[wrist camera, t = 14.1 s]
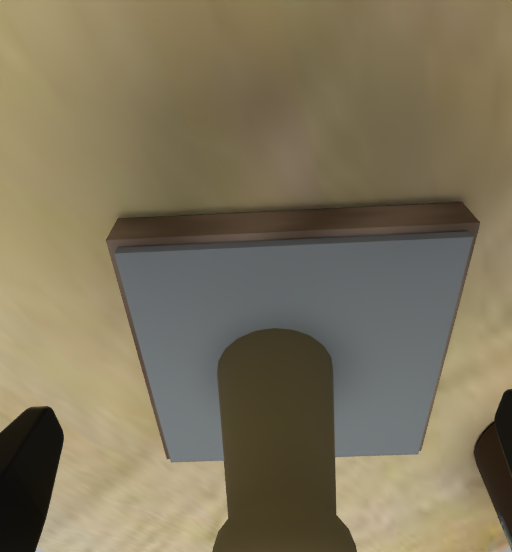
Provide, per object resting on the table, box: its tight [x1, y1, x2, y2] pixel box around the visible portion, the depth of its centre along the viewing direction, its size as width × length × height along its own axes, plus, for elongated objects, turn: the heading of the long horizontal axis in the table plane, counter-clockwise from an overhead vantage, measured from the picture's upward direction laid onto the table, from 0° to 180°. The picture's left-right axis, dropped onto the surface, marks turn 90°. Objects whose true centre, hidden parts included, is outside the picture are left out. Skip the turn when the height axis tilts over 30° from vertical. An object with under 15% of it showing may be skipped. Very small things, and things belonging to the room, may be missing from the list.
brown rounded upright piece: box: [213, 328, 357, 552], centre depth 19 cm, size 6×6×11 cm
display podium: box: [106, 202, 480, 462], centre depth 24 cm, size 16×16×2 cm
